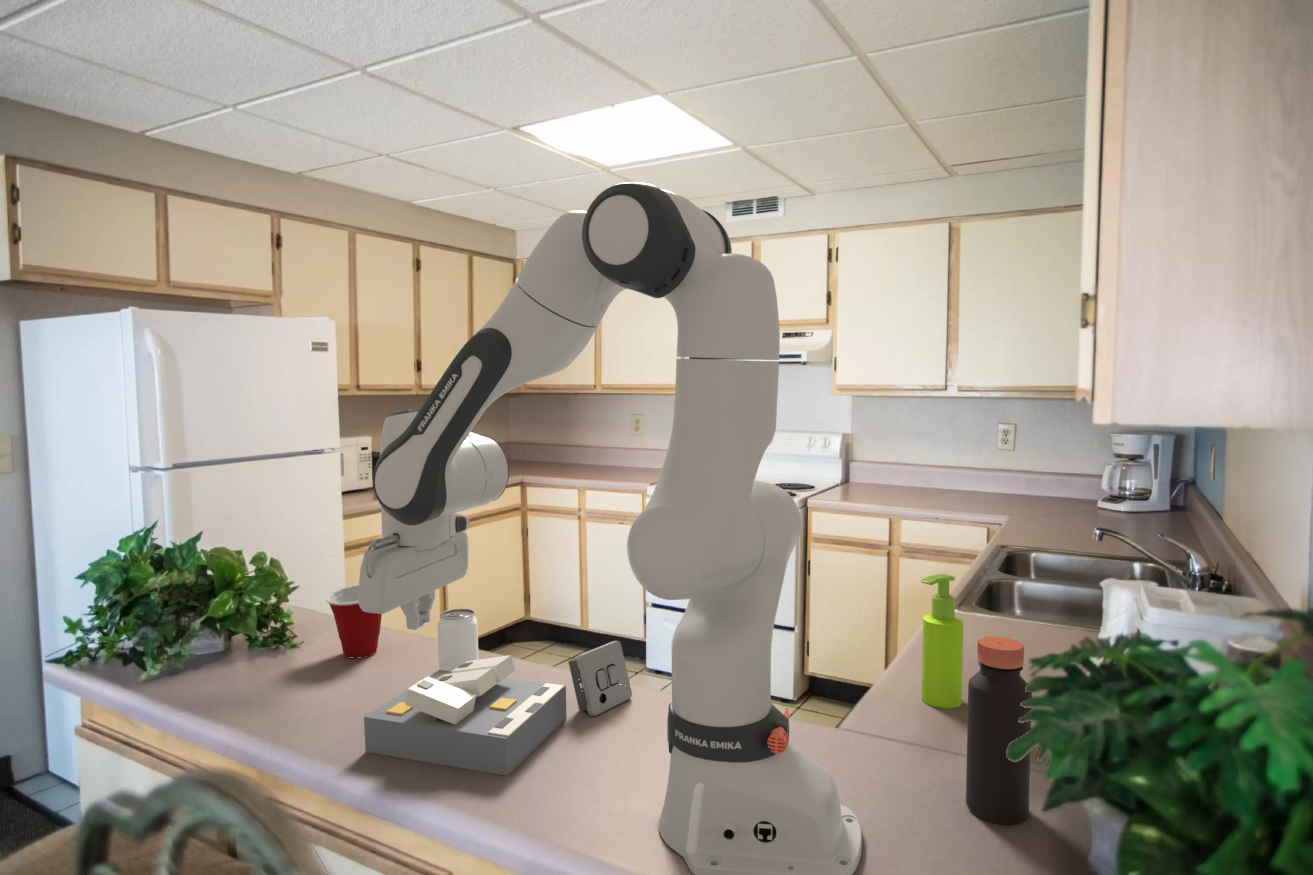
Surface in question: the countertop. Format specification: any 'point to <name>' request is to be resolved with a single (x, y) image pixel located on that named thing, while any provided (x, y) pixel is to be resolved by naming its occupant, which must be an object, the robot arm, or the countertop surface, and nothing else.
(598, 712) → the electrical switch
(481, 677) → the rocker
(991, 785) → the bottle
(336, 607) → the plastic cup
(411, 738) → the switch unit
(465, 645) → the can
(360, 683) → the countertop surface
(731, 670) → the robot arm
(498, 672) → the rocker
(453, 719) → the rocker
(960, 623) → the soap dispenser
